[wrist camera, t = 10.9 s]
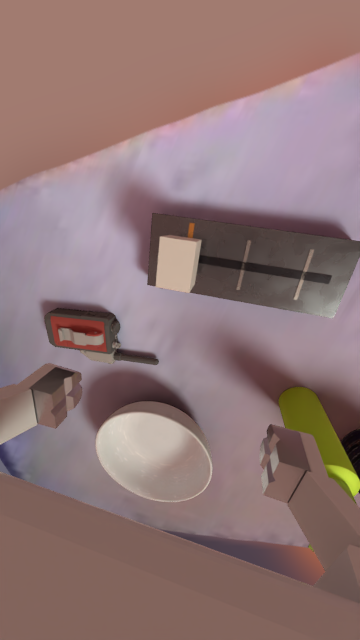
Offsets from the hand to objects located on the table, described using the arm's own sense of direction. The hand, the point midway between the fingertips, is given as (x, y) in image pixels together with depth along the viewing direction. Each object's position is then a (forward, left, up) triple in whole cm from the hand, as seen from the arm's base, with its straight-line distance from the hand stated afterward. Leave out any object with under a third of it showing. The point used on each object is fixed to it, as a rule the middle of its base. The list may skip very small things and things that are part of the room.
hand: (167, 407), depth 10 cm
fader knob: (+4, -3, -22) cm, 22 cm away
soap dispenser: (-17, +17, -26) cm, 35 cm away
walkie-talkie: (+17, +13, -26) cm, 33 cm away
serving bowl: (+4, +31, -26) cm, 40 cm away
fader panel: (-4, -3, -25) cm, 26 cm away
